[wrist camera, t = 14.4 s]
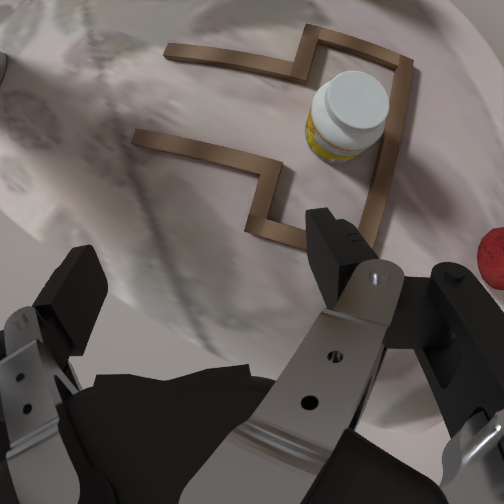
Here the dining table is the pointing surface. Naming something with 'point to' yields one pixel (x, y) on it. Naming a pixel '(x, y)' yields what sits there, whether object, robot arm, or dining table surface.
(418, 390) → the dining table surface
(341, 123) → the supplement bottle
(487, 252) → the onion
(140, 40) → the dining table surface
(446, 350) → the robot arm
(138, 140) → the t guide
